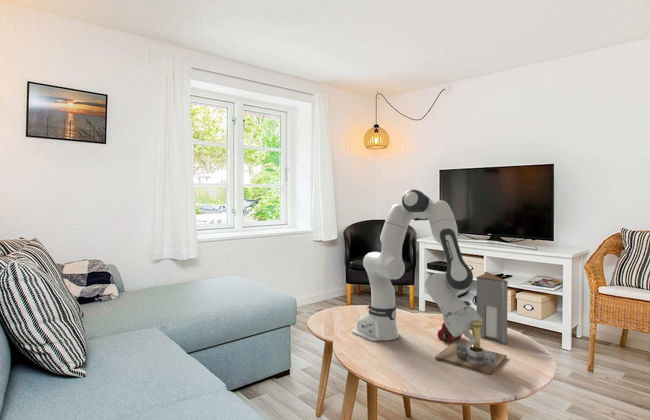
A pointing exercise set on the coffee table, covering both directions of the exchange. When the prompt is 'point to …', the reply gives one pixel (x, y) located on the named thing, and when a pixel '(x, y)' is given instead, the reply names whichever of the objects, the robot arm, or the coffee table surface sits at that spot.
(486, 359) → the hinge
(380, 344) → the coffee table surface
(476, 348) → the hinge pin
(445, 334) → the toy fire truck
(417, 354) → the coffee table surface
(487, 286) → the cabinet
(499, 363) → the walnut board
